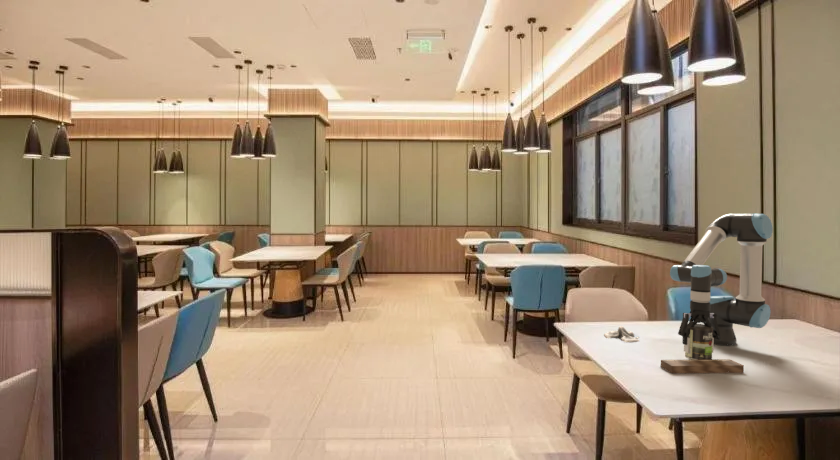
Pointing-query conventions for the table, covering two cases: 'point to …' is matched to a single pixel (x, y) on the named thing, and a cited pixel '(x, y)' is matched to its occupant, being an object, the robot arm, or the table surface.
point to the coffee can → (700, 342)
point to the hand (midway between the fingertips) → (698, 351)
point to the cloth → (622, 335)
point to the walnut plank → (702, 366)
